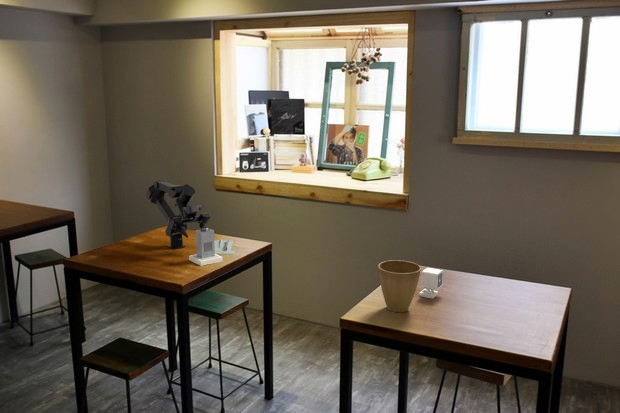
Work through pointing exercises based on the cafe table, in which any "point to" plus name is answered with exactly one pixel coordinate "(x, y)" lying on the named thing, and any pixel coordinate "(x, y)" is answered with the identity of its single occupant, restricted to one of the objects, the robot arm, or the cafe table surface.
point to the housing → (205, 243)
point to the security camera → (431, 282)
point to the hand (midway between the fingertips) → (196, 235)
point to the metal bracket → (223, 246)
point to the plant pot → (398, 283)
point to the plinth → (205, 259)
